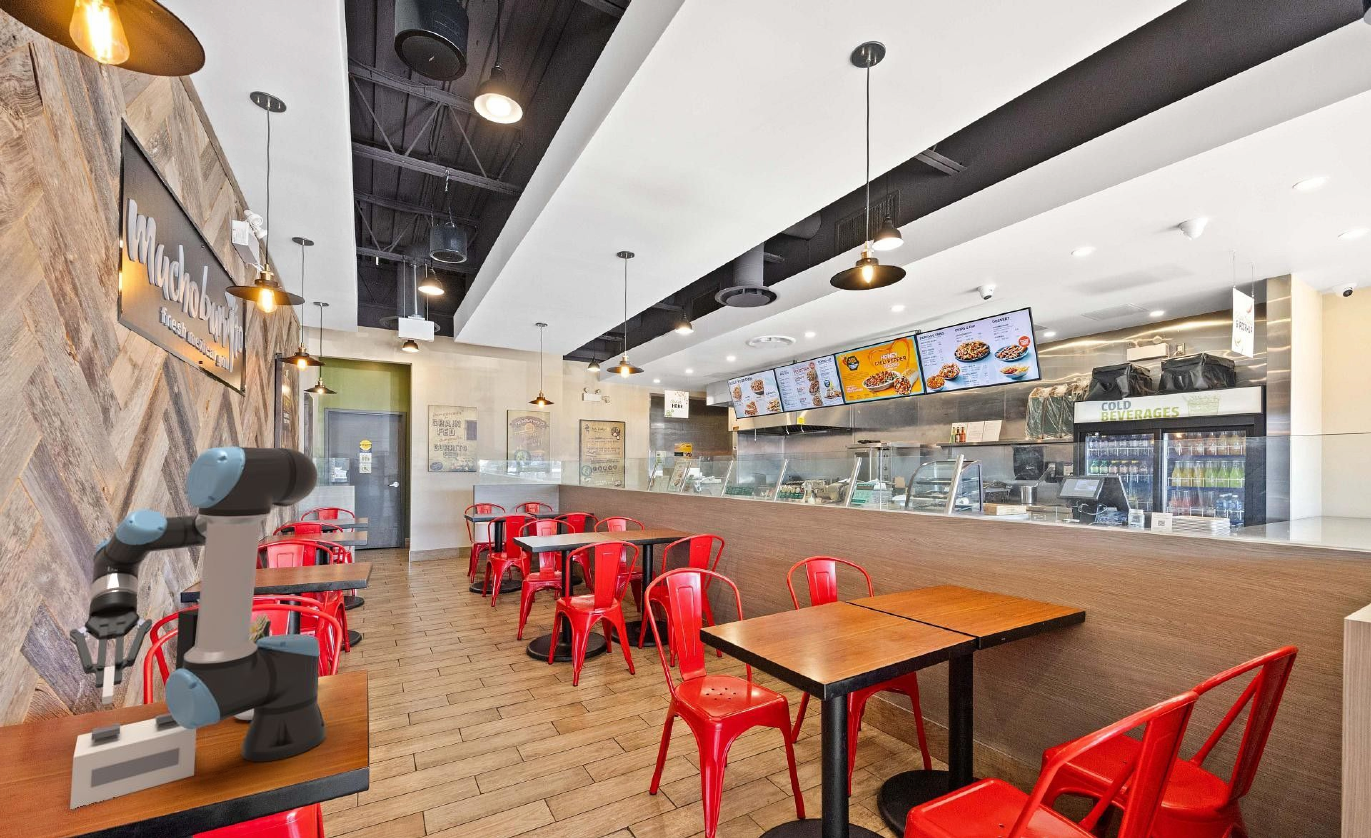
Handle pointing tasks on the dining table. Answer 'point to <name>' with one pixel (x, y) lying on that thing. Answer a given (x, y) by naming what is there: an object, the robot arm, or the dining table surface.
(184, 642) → the tissue box
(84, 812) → the dining table surface
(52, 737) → the dining table surface
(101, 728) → the rocker outer
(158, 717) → the block
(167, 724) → the switch box
